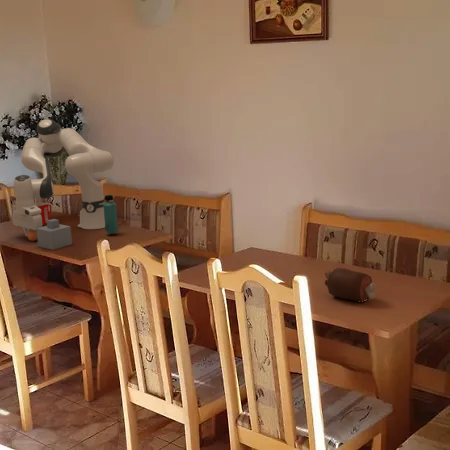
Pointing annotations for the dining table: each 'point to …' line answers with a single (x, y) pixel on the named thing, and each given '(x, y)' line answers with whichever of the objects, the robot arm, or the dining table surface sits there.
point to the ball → (32, 235)
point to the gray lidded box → (54, 235)
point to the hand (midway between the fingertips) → (28, 236)
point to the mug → (44, 211)
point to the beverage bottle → (110, 215)
